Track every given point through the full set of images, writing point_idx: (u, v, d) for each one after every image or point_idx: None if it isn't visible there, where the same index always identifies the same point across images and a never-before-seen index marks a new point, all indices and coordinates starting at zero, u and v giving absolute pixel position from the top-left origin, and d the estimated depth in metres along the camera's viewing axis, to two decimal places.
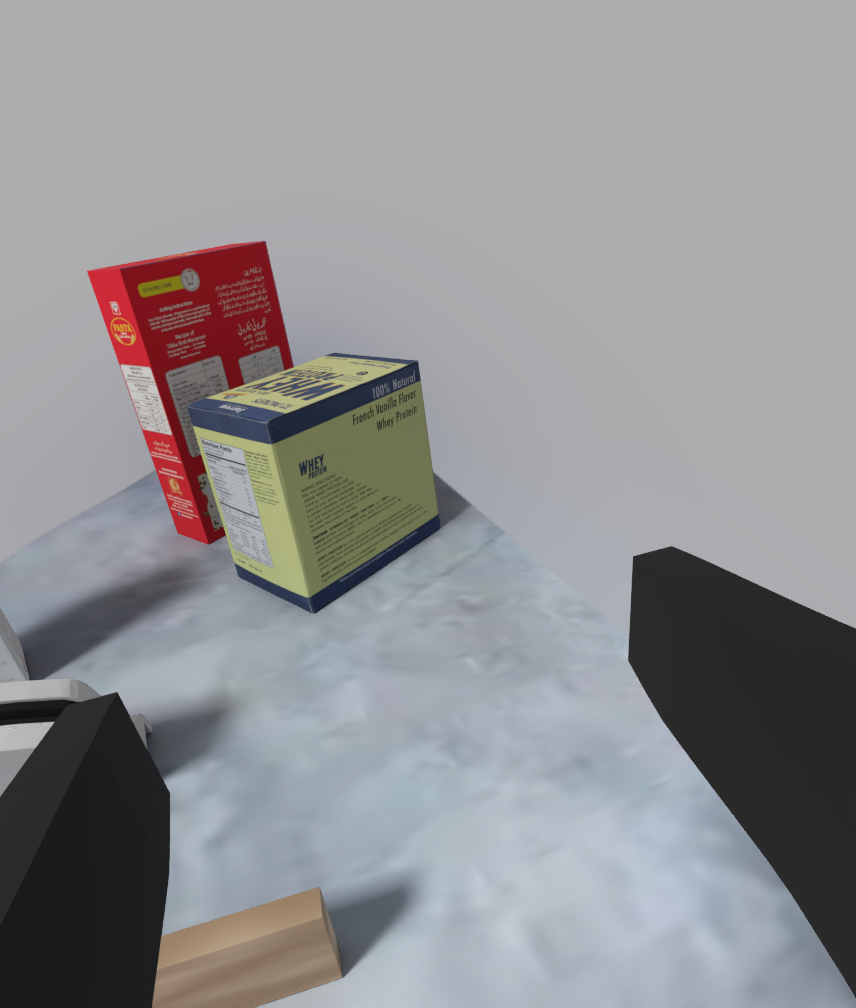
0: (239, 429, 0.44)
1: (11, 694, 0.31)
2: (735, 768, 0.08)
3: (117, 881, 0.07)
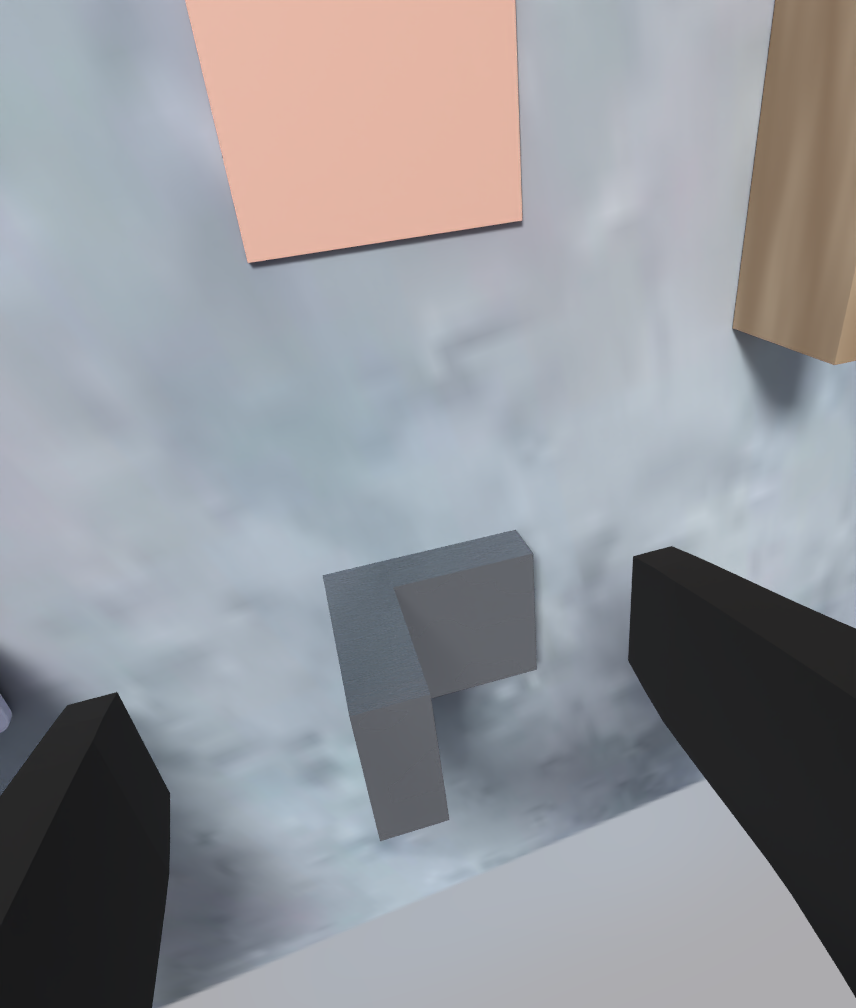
0: None
1: None
2: (735, 768, 0.08)
3: (117, 881, 0.07)
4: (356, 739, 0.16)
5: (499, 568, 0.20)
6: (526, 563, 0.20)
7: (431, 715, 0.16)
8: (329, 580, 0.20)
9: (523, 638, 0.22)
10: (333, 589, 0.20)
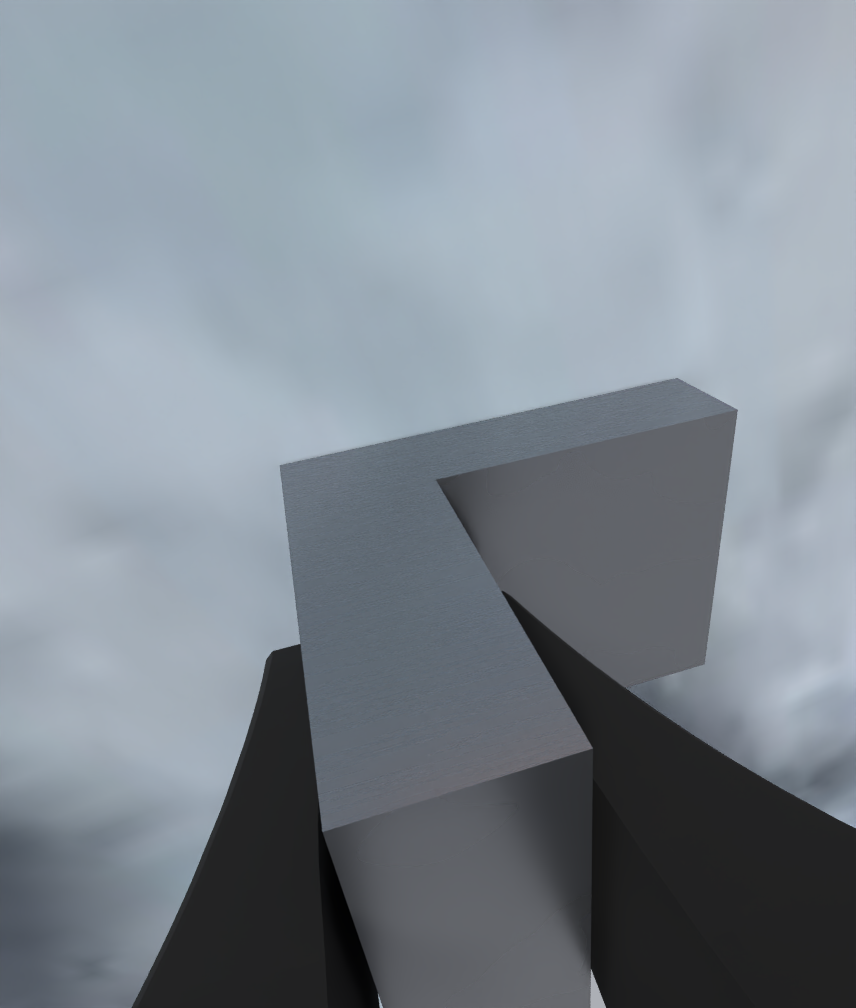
0: None
1: None
2: None
3: None
4: (349, 896, 0.05)
5: (665, 442, 0.09)
6: (721, 433, 0.09)
7: (586, 810, 0.05)
8: (294, 474, 0.09)
9: (691, 601, 0.11)
10: (301, 487, 0.09)
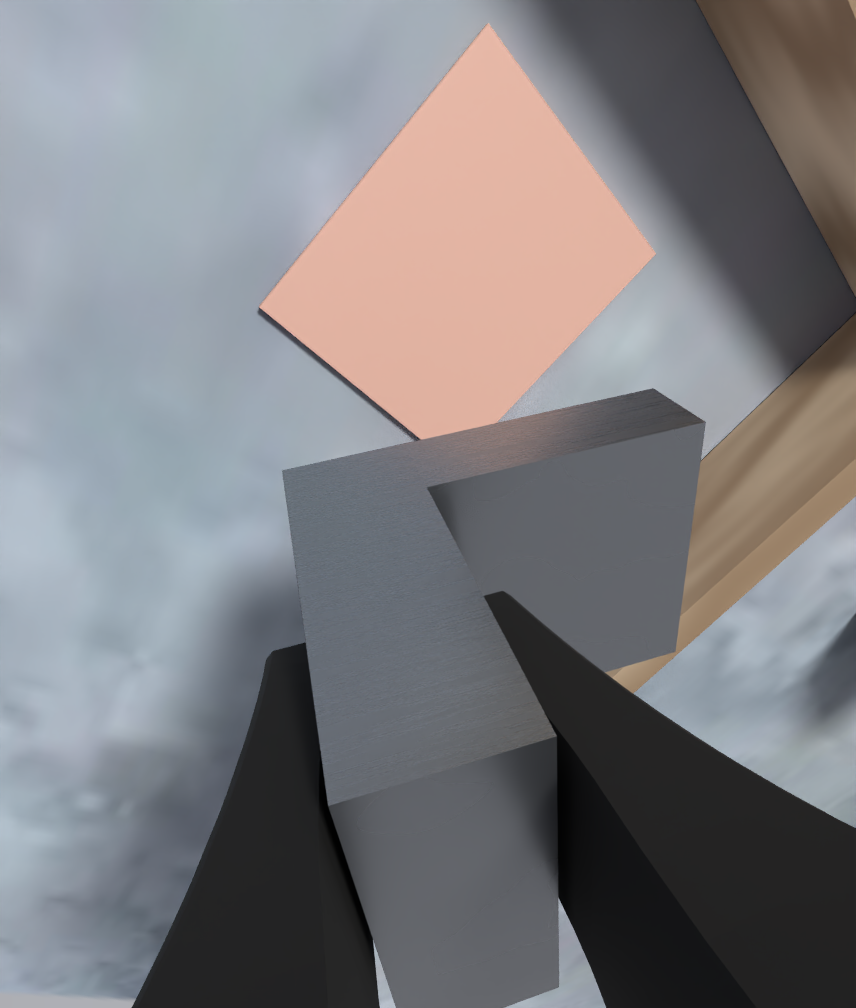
0: None
1: None
2: None
3: None
4: (350, 859, 0.06)
5: (639, 452, 0.10)
6: (690, 443, 0.10)
7: (552, 788, 0.06)
8: (295, 480, 0.10)
9: (662, 595, 0.12)
10: (302, 493, 0.10)
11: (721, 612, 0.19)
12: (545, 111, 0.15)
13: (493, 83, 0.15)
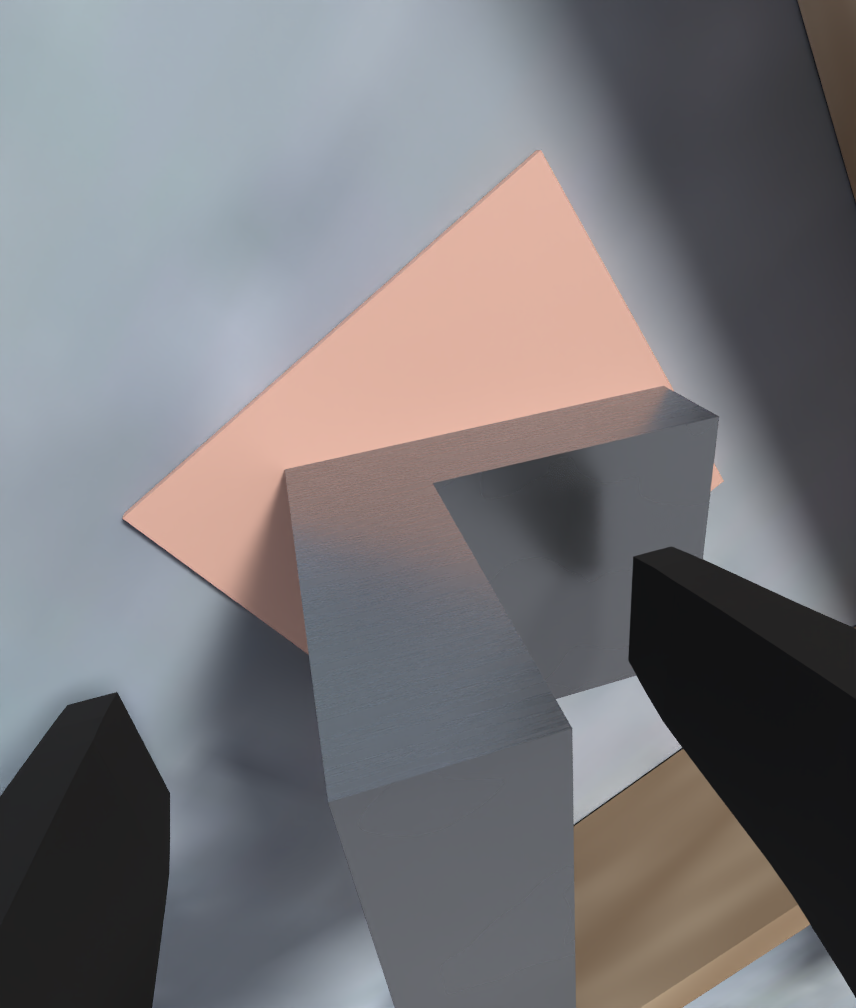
0: None
1: None
2: (735, 767, 0.08)
3: (117, 881, 0.07)
4: (352, 863, 0.05)
5: (650, 448, 0.10)
6: (703, 439, 0.10)
7: (567, 786, 0.06)
8: (297, 478, 0.10)
9: None
10: (305, 491, 0.09)
11: (747, 963, 0.14)
12: (605, 285, 0.10)
13: (535, 237, 0.09)
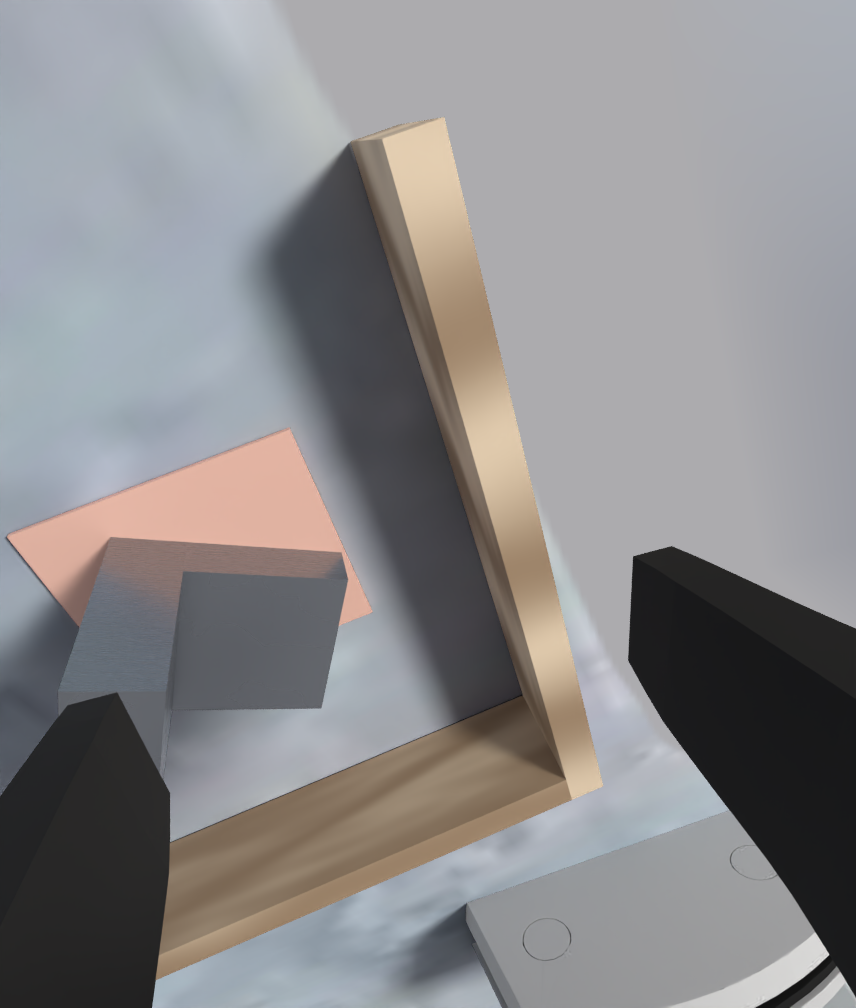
0: None
1: None
2: (735, 768, 0.08)
3: (117, 881, 0.07)
4: None
5: (308, 585, 0.18)
6: (338, 588, 0.19)
7: (161, 717, 0.14)
8: (115, 544, 0.18)
9: (315, 669, 0.20)
10: (115, 554, 0.17)
11: (309, 911, 0.22)
12: (314, 496, 0.19)
13: (280, 464, 0.18)
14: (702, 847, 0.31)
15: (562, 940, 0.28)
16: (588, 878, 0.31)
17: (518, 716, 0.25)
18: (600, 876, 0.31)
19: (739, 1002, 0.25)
